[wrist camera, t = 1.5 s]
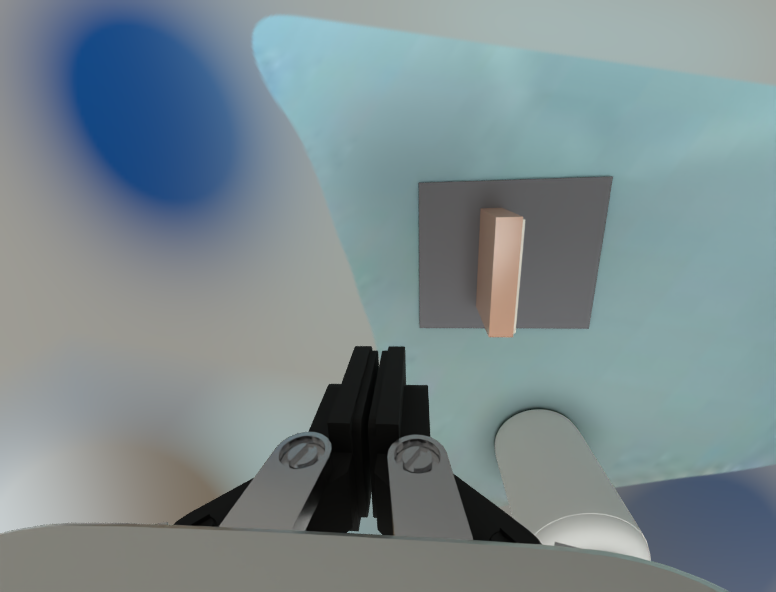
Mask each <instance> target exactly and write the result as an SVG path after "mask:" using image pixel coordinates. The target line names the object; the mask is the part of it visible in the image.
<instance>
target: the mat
mask: <svg viewBox="0 0 776 592" xmlns="http://www.w3.org/2000/svg"><path fill="white" fill-rule="evenodd" d="M612 179H613V177H611V176H610V177H580V178H550V179H520V180H490V181H460V182H430V183H419V287H420V328H485V327H484V324H483V322H482V320H481V317H480V315H479V312H478V310H477V308H476V295H477V274H478V253H479V232H480V211H481V208H504V209H506V210H509V211H511V212H513V213H516V214H518V215H520V216H523V219H525V231H524V242H523V253H522V265H521V276H520V288H519V299H518V310H517V322H516V328H578V329H589V324H590V318H591V311H592V305H593V299H594V292H595V286H596V280H597V274H598V267H599V261H600V255H601V248H602V242H603V236H604V230H605V223H606V217H607V211H608V204H609V198H610V192H611V185H612Z"/></svg>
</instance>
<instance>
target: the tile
mask: <svg viewBox="0 0 776 592" xmlns="http://www.w3.org/2000/svg"><path fill="white" fill-rule="evenodd" d="M524 231H525V219H523V216H520V215H518V214H516V213H513V212H511V211H509V210H506V209H504V208H481V211H480V232H479V253H478V274H477V295H476V308H477V310H478V312H479V315H480V317H481V320H482V322H483V324H484V327H485V329H486V332H487V334H488V336H489V337H513V333H516V322H517V310H518V299H519V288H520V276H521V265H522V253H523V242H524Z"/></svg>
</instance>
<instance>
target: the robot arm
mask: <svg viewBox="0 0 776 592" xmlns="http://www.w3.org/2000/svg"><path fill="white" fill-rule="evenodd" d="M371 492H372V504H373V517H374V518H377V527H378V530H379V531H380V533H381V534H382V535H373V534H354V533H347V532H348V531H359V525H360V520H361V517H368V513H369V505H370V499H371ZM0 592H729V591H727V590H725V589H723V588H721V587H719V586H717V585H715V584H713V583H711V582H708V581H706V580H704V579H701V578H698V577H696V576H693V575H690V574H688V573H685V572H683V571H680V570H678V569H675V568H672V567H670V566H667V565H663V564H660V563H656V562H652V561H648V560H645V559H641V558H638V557H634V556H629V555H624V554H618V553H613V552H607V551H602V550H592V549H582V548H577V547H574V546H570V545H566V544H562V543H558V542H555V543H554V546H552V545H543V544H541V542H540V541H539V539H538V538H537V537H536V536H535V535H534V534H532V533H531V532H530V531H529V530H528V529H527V528H525V527H524V526H523V525H521V524H520V523H519V522H517V521H516V520H515V519H513V518H512V517H510V516H509V515H508V514H507V513H505V512H504V511H503V510H501V509H500V508H499V507H497V506H496V505H495V504H493V503H492V502H491V501H489V500H488V499H487V498H485V497H484V496H483V495H481V494H480V493H479V492H477V491H476V490H475V489H473V488H472V487H470V486H469V485H468V484H466V483H465V482H464V481H462V480H461V479H460V478H458V477H457V476H456V475H454V474H453V472H452V468H451V465H450V462H449V459H448V455H447V452H446V450H445V449H444V447H443V446H442V445H441V444H440V443H439V442H438V441H437V440H435V439H433V438H431V437H430V421H429V399H428V385H406V367H405V347H389V348H388V351H382V355H381V360H380V365H379V360H378V351H372V347H371V346H356V347H355V348H354V351H353V353H352V356H351V359H350V362H349V364H348V367H347V370H346V373H345V375H344V378H343V381H342V384H329V385H328V387H327V389H326V392H325V394H324V396H323V399H322V401H321V403H320V406H319V408H318V411H317V413H316V415H315V418H314V420H313V423H312V425H311V427H310V429H309V432H303V433H297V434H295V435H292V436H290V437H288V438H286V439H285V440H283V441H282V442H281V443H280V444H279V445H278V446H277V447H276V448H275V450H274V451H273V452H272V454H271V455H270V457H269V458H268V459H267V461H266V462H265V463H264V465H263V466H262V468H261V469H260V471H259V472H258V473H257V475H256V476H255V477H254V478H253V479H251V480H249V481H247V482H245V483H243V484H242V485H240V486H238V487H236V488H234V489H233V490H231V491H229V492H227V493H225V494H223V495H222V496H220V497H218V498H216V499H214V500H212V501H211V502H209V503H207V504H205V505H203V506H201V507H200V508H198V509H196V510H194V511H192V512H190V513H189V514H187V515H186V516H184V517H183V518H181V519H180V520H178V521H177V522H176V523H175V524H174V525H168V522H165V523H158V524H137V523H63V524H50V525H40V526H34V527H29V528H23V529H17V530H12V531H8V532H4V533H1V534H0Z"/></svg>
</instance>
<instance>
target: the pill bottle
mask: <svg viewBox="0 0 776 592" xmlns="http://www.w3.org/2000/svg"><path fill="white" fill-rule="evenodd" d="M495 453H496V458H497V462H498V466H499V469H500V473H501V477H502V480H503V484H504V488H505V491H506V495H507V499H508V502H509V506H510V509H511V513H512V516H513V519H515V520H516V521H517V522H519V523H520V524H521V525H523V526H524V527H525V528H527V529H528V530H529V531H530V532H531V533H532V534H534V535H535V536H536V537H537V538H538V539H539V541H540V542H541V544H543V545H552V546H554V543H555V542H558V543H562V544H566V545H570V546H574V547H577V548H582V549H592V550H602V551H607V552H613V553H618V554H624V555H629V556H634V557H638V558H641V559H645V560H648V561H651V558H650V552H649V548H648V544H647V542H646V539H645V538H644V536H643V534H642V532H641V530H640V529H639V527H638V525H637V524H636V522H635V520H634V519H633V517H632V516H631V514H630V513H629V511H628V509H627V508H626V506H625V504H624V503H623V501H622V500H621V498H620V496H619V495H618V493H617V491H616V490H615V488H614V486H613V485H612V483H611V482H610V480H609V478H608V477H607V475H606V474H605V472H604V470H603V469H602V467H601V465H600V464H599V462H598V461H597V459H596V457H595V456H594V454H593V453H592V451H591V449H590V448H589V446H588V444H587V443H586V441H585V440H584V438H583V436H582V435H581V433H580V432H579V430H578V429H577V428H576V426H575V425H574V424H573V423H572V422H571V421H570V420H569V419H568V418H566V417H565V416H563V415H561V414H559V413H557V412H554V411H550V410H544V409H534V410H528V411H524V412H521V413H518V414H516V415H514V416H513V417H511V418H510V419H508V420H507V421H506V422H505V423H504V424H503V425H502V426H501V428H500V429H499V431H498V433H497V435H496V439H495Z"/></svg>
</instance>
